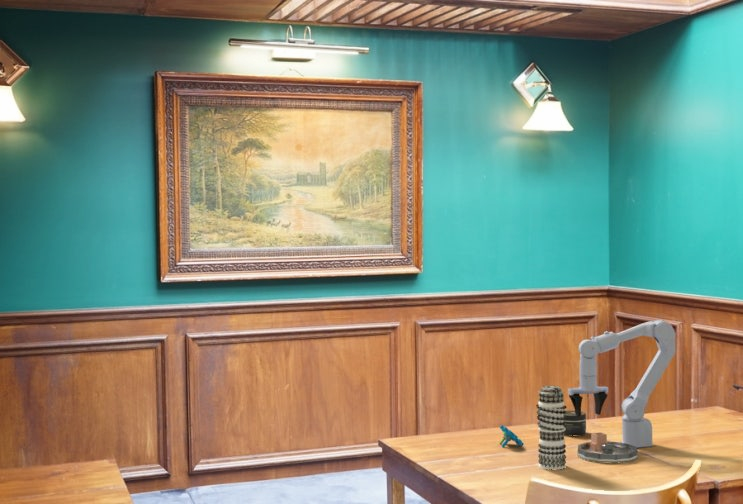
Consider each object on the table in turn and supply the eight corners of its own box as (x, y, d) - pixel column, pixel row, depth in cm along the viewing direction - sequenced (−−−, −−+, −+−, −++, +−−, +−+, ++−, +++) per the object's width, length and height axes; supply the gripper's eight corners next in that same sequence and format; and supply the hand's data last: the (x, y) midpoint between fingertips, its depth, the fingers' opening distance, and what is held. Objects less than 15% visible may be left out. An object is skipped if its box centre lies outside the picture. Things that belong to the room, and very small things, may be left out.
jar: (565, 429, 347) (564, 409, 347) (590, 432, 341) (590, 411, 341) (553, 434, 339) (553, 413, 339) (579, 437, 333) (579, 416, 333)
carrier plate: (617, 447, 318) (617, 431, 317) (649, 460, 299) (649, 443, 299) (566, 452, 312) (566, 436, 312) (596, 465, 294) (596, 448, 294)
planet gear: (602, 446, 314) (601, 431, 314) (610, 449, 309) (610, 434, 309) (587, 447, 313) (587, 432, 312) (596, 451, 307) (595, 436, 307)
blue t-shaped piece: (528, 444, 317) (507, 424, 317) (517, 457, 316) (495, 437, 316) (518, 441, 328) (498, 422, 328) (507, 454, 327) (487, 435, 327)
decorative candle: (561, 471, 287) (560, 390, 286) (532, 468, 292) (531, 388, 291) (571, 465, 295) (570, 385, 294) (543, 461, 300) (542, 383, 299)
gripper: (600, 372, 327) (600, 411, 327) (563, 374, 323) (563, 414, 323) (611, 375, 320) (611, 415, 321) (573, 377, 316) (573, 417, 316)
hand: (588, 414), depth 321 cm, fingers open, 7 cm apart
